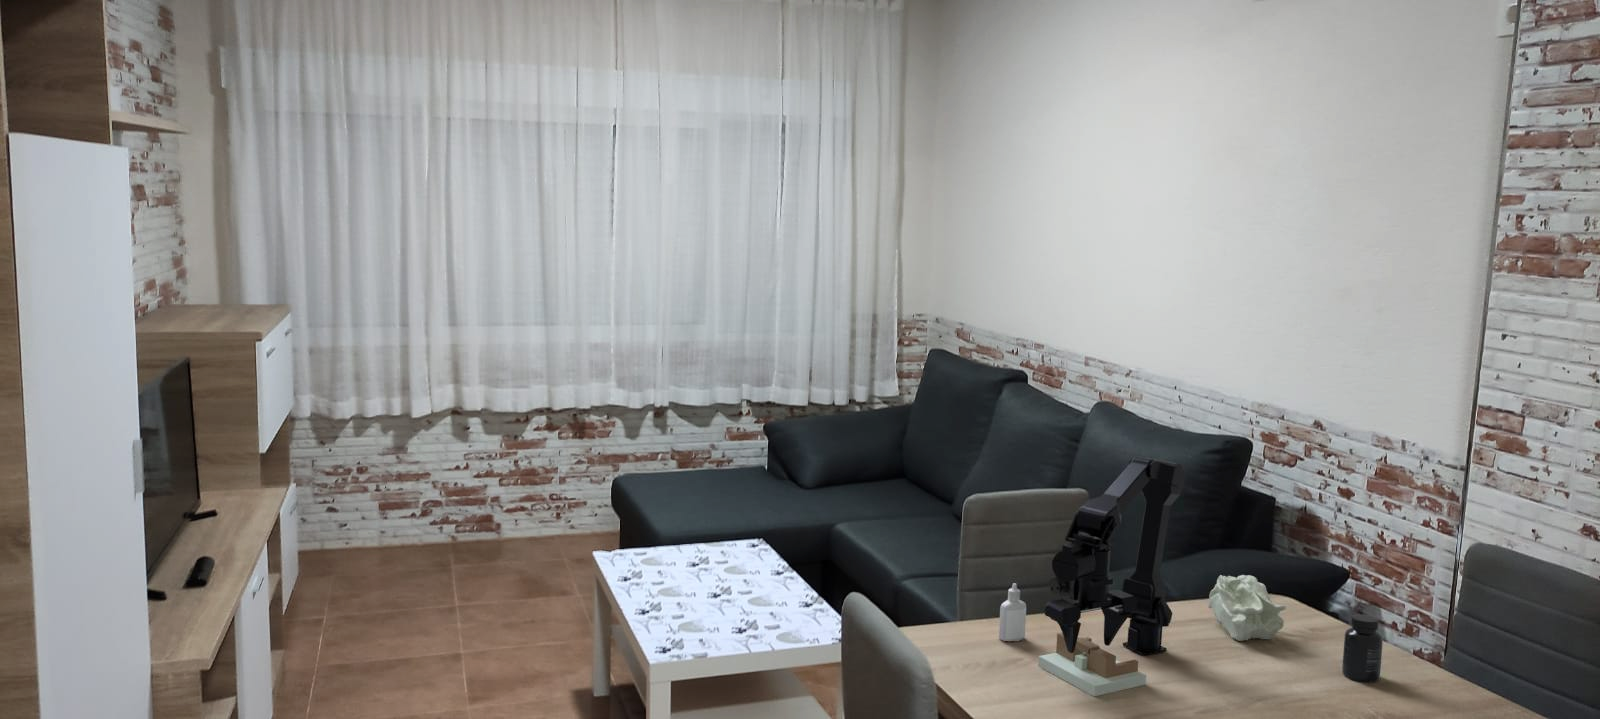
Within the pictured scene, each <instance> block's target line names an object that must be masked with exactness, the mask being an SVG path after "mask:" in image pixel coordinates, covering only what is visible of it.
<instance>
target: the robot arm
mask: <svg viewBox="0 0 1600 719" xmlns="http://www.w3.org/2000/svg"><path fill="white" fill-rule="evenodd" d="M1186 478H1187V476H1186V471H1185V470H1183V468H1182V465H1181V464H1180V463H1176V462H1171V461H1168V460H1167V461H1165V460H1160V459H1156V458H1155V459H1154V458H1149V457H1145V456H1139V455H1138V456H1132V457H1131V458H1130V460H1129V461H1128V465H1127V466H1126V468H1125V469H1124V470H1123V471H1122V472H1121V473H1120V474H1119V476H1118V477H1117V478H1116V479H1115V480H1114V481H1113V483H1112V484H1111V485H1110V486H1109V487H1108V488H1107V489H1106V490H1105V492H1104V493H1103V494H1102V495H1100V496H1097V497H1094V498H1091V499H1089V500H1087V501H1086V502H1084V504H1083V505H1082V506H1080V507H1079V508H1078V510H1077V512H1076V513H1075V515H1074V518H1073V520H1072V522H1071V525H1070V527H1069V529H1068V530H1067V531H1068V532H1067V533H1066V536H1065V538H1064V541H1065V542H1069V543H1065V544H1062V546H1061V548H1062V550H1061V551H1059V552H1057V553H1055V555H1054V557H1053V559H1052V560H1051V568H1052V572H1053V573H1054V575H1055V576H1053V577H1050V580H1049V581H1050V583H1049V589H1050V592H1051V593H1052V594H1053V595H1055V594H1057V598H1062V597H1068V599H1069V600H1071V601H1076V603H1072V602H1070V601H1068V600H1066V599H1063V598H1062V599H1056V600H1049V601H1048V602H1047V603H1045V606H1044V616H1046V617H1048V618H1050V620H1053V621H1054V622H1056V623H1057V624H1058V625H1059V627H1060V630H1061V633H1063V636H1064V640H1065V643H1066V646H1067V649H1068V652H1070V653H1073V652H1074V649H1075V646H1076V642H1077V638H1079V635H1080V629H1081V625H1082V622H1080V621H1079V620H1080V619H1081V618H1082V617H1081V615H1082V614H1083V613H1087V612H1089V613H1090V612H1094V611H1099V610H1101V612H1102V614H1103V644H1104V646H1107V647H1109V646H1111V644H1112V642H1113V640H1114V638H1115V637H1116V636H1117V635H1118V632H1119V631H1120V629H1121V628H1122V626H1123V625H1124V624H1125V622H1126V621H1127V619H1129V627H1127V628H1128V629H1127V640H1126V641H1125V642H1122V646H1123V647H1125V648H1127V649H1128V650H1129V649H1130V651H1131V650H1132V651H1134V652H1135V653H1138V654H1140V655H1142V656H1149V655H1154V654H1158V653H1164V652H1167V649H1168V648H1167V647H1164V646H1162V641H1163V640H1162V639H1163V638H1162V637H1163V627H1165V628H1166V627H1169V626H1170V625H1169V624H1170V623H1171V621H1172V617H1173V611H1172V610H1171V608H1170V606H1169V605H1168V603H1167V601H1166V587H1165V585H1164V582H1163V579H1162V577H1161V568H1162V563H1163V562H1162V561H1163V557H1164V556H1163V555H1164V551H1165V543H1166V538H1167V537H1166V536H1167V532H1168V523H1169V518H1170V512H1171V506H1172V505H1173V503H1174V502H1175V501H1176V500H1177V499H1178V498H1179V497H1180V496H1181V494H1182V489H1183V487H1184V484H1185V482H1186ZM1140 492H1142V495H1143V498H1144V500H1145V506H1144V512H1143V519H1142V526H1141V532H1140V539H1139V543H1138V544H1139V545H1138V550H1137V558H1136V564H1135V569H1134V572H1133V573H1132V574H1131V575H1130V576H1129V577H1128V578H1127V577H1125V579H1124V580H1123V582H1122V589H1119V588H1118V589H1113V590H1109V589H1108V588H1109V585H1113V584H1114V578H1112V577H1109V576H1110V564H1111V563H1110V560H1111V559H1110V558H1111V548H1112V547H1113V546H1115V547H1116V541H1115V540H1114V539H1113V538H1115V536H1116V534H1117V533H1118V531H1119V529H1120V527H1121V526H1122V515H1123V513H1124V512H1125V510H1126V509H1127V508H1128V507H1129V506H1130V505H1131V503H1132V502H1133V501H1134V500H1135V498H1137V496H1139V494H1140ZM1079 533H1080V534H1079Z"/></svg>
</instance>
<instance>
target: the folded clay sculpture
mask: <svg viewBox="0 0 1600 719" xmlns="http://www.w3.org/2000/svg"><path fill="white" fill-rule="evenodd" d="M1208 596H1209V601H1208V609H1211V610H1212V612H1213V615H1214V617H1215V619H1217V620H1218V621H1220V622H1221V623H1220V622H1219V623H1220V624H1221V625H1222V627H1223V628H1224V629H1225V630H1227V633H1229V635H1230V638H1232V639H1233V638H1234V640H1235V639H1236V640H1235V641H1237V642H1238V641H1240V642H1241V641H1242V642H1243V641H1244V640H1247V639H1249V640H1251V639H1255V638H1262V639H1261V640H1263V639H1268V640H1272V639H1273V638H1274V636H1275V635H1276V634H1277V633H1278V632H1279V631H1280V630H1282V628H1283V627H1284V623H1285V622H1284V621H1285V620H1284V619H1283V617H1281V616H1280V615H1279V614H1280V612H1281V611H1282V612H1283V611H1285V610H1286V609H1287V606H1286V605H1284V604H1276V603H1274V602H1273V601H1272V599H1271V597H1270V596H1269V593H1268V591H1267V587H1266V585H1265V584H1264V583H1262V582H1259V581H1258V579H1257V577H1255V576H1253V575H1249V574H1248V575H1245V574H1241V575H1238V576H1237V577H1236V576H1231V575H1227V576H1226V575H1221V574H1220V575H1219V576H1218V577H1217V580H1216V584H1214V588H1213V589H1211V590H1210V592H1209V595H1208ZM1217 620H1216V621H1217ZM1218 621H1217V622H1218ZM1247 641H1248V640H1247Z"/></svg>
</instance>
